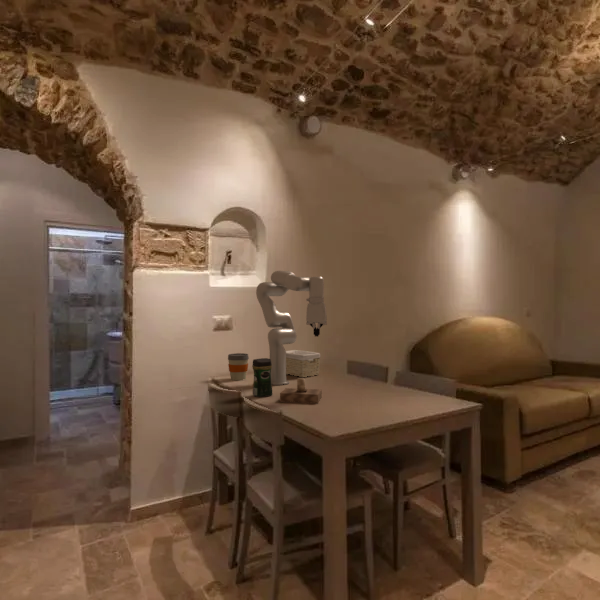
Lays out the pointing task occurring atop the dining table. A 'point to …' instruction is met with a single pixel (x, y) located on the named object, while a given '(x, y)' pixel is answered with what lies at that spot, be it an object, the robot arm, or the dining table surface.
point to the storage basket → (302, 363)
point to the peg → (301, 385)
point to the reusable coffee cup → (238, 365)
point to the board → (301, 395)
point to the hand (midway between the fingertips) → (316, 336)
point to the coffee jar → (262, 377)
